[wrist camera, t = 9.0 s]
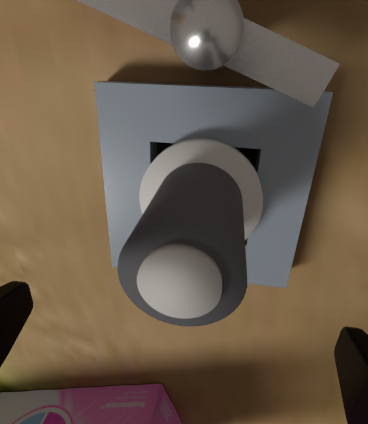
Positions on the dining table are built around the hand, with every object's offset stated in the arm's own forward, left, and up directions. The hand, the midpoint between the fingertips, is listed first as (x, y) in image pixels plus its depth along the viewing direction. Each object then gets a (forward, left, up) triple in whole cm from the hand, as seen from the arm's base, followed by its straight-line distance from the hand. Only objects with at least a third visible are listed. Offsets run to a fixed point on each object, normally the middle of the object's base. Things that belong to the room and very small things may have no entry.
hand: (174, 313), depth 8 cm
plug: (0, 0, -10) cm, 10 cm away
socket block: (0, 0, -10) cm, 10 cm away
